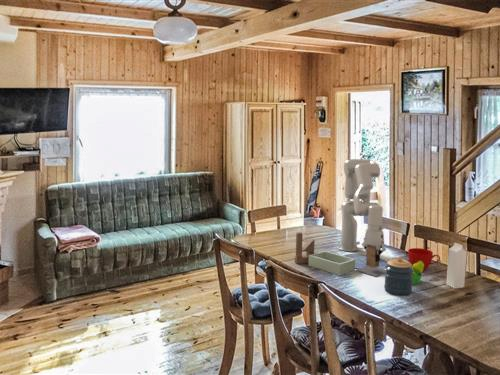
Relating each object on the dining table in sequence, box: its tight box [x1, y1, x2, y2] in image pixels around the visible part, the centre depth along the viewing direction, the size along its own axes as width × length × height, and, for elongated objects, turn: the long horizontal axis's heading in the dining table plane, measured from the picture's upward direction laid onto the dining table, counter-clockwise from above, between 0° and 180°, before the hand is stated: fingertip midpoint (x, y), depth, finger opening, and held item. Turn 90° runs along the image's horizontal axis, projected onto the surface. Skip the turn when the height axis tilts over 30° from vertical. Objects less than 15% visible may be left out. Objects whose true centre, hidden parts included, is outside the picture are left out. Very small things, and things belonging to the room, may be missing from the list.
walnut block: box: [365, 244, 380, 268], centre depth 251 cm, size 5×5×12 cm
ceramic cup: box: [407, 247, 441, 271], centre depth 257 cm, size 13×17×10 cm
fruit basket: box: [411, 261, 424, 285], centre depth 237 cm, size 11×9×11 cm
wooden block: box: [294, 231, 315, 265], centre depth 266 cm, size 4×11×18 cm, turn 104°
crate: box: [307, 250, 356, 276], centre depth 258 cm, size 14×22×6 cm, turn 42°
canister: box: [383, 255, 413, 297], centre depth 222 cm, size 13×13×18 cm
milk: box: [445, 242, 468, 289], centre depth 230 cm, size 6×6×22 cm
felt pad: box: [355, 265, 386, 278], centre depth 253 cm, size 13×13×1 cm
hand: (373, 259), depth 252 cm, fingers closed on walnut block, 5 cm apart
